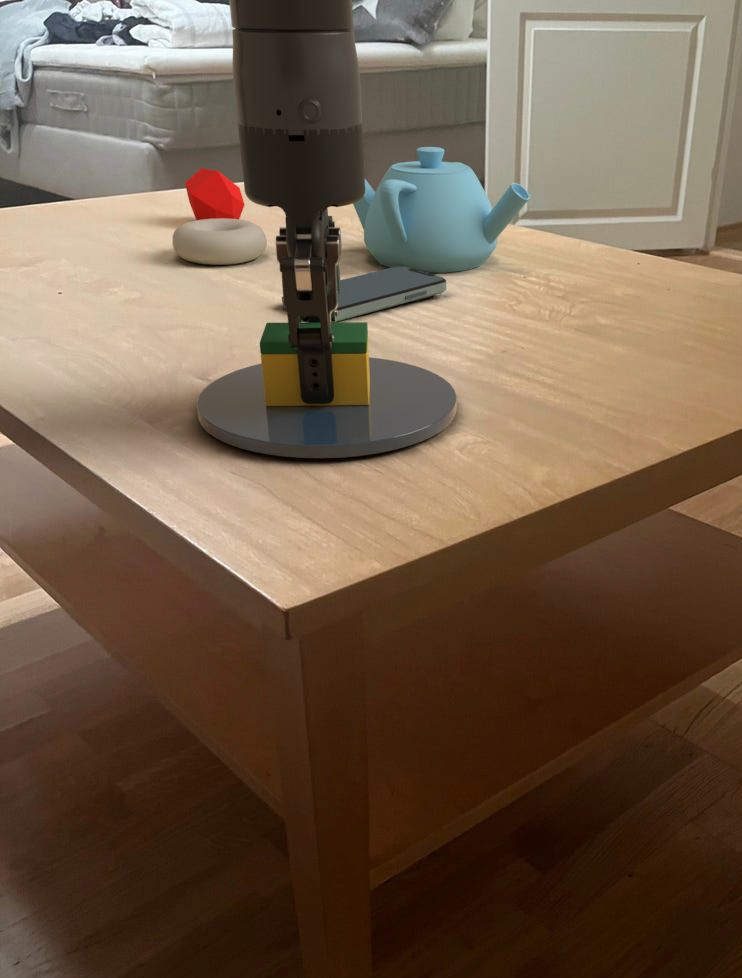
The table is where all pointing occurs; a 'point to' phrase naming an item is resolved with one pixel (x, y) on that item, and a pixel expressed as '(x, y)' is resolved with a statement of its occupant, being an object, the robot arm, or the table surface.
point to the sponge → (346, 363)
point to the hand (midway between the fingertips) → (320, 387)
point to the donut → (219, 241)
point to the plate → (329, 414)
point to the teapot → (434, 215)
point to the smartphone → (385, 290)
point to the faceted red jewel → (214, 196)
